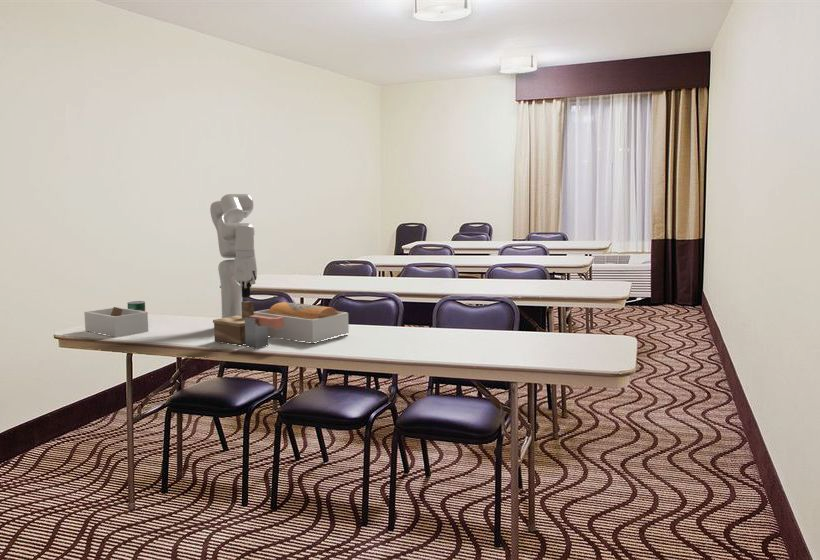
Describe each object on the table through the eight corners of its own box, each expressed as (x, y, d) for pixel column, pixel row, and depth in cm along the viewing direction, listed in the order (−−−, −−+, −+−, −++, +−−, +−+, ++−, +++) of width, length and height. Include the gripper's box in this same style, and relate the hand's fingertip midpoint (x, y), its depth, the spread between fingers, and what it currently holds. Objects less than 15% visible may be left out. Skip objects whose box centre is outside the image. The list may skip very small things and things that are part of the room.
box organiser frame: (289, 326, 319) (289, 305, 318) (348, 335, 299) (348, 312, 298) (252, 334, 300) (252, 312, 299) (312, 344, 280) (312, 320, 279)
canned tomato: (131, 323, 327) (130, 301, 326) (148, 323, 328) (147, 300, 326) (125, 326, 319) (124, 303, 318) (142, 326, 320) (141, 303, 318)
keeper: (258, 343, 281) (257, 315, 279) (268, 345, 277) (267, 316, 276) (245, 346, 275) (244, 317, 274) (255, 348, 272) (255, 319, 270)
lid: (239, 317, 297) (239, 299, 296) (266, 321, 287) (265, 302, 286) (212, 322, 285) (212, 303, 284) (239, 326, 275) (239, 307, 274)
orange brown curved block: (342, 336, 297) (342, 305, 295) (316, 342, 284) (316, 310, 282) (294, 329, 314) (293, 299, 313) (267, 334, 301) (266, 303, 299)
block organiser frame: (117, 325, 320) (116, 307, 319) (148, 331, 307) (147, 312, 306) (85, 331, 307) (84, 311, 306) (115, 337, 294) (114, 317, 293)
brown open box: (240, 335, 297) (239, 317, 296) (265, 340, 288) (265, 321, 287) (214, 341, 286) (214, 322, 285) (240, 345, 277) (239, 326, 276)
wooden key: (256, 323, 278) (256, 313, 278) (284, 327, 269) (283, 317, 269) (248, 324, 275) (247, 315, 274) (276, 329, 266) (275, 318, 265)
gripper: (226, 253, 286) (227, 296, 288) (250, 256, 277) (251, 300, 280) (240, 252, 292) (241, 294, 294) (264, 254, 283) (264, 297, 286)
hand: (246, 296), depth 287 cm, fingers closed
